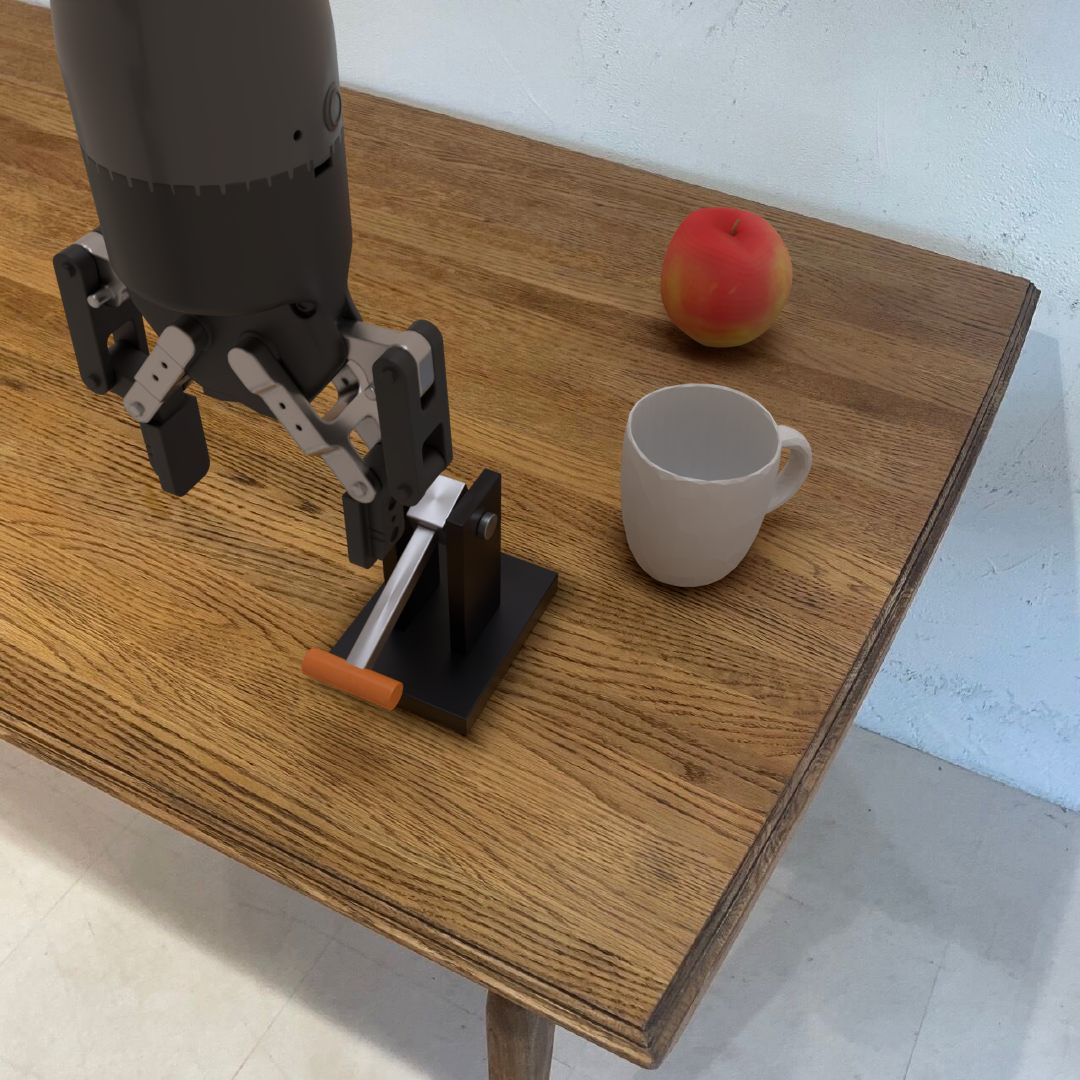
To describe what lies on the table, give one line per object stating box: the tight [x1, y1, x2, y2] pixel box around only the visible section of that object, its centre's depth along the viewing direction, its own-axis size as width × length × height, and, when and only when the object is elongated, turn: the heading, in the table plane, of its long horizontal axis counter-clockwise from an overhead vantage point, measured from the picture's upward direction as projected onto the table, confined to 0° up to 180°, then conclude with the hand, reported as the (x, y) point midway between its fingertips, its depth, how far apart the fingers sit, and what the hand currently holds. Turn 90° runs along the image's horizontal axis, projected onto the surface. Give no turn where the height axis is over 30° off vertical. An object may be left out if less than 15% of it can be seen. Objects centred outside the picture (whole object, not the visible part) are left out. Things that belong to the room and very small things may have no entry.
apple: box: [659, 206, 794, 348], centre depth 85 cm, size 10×10×10 cm
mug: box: [619, 382, 813, 588], centre depth 69 cm, size 13×9×10 cm
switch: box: [301, 473, 469, 711], centre depth 58 cm, size 12×5×2 cm, turn 155°
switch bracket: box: [328, 467, 559, 736], centre depth 63 cm, size 12×9×12 cm
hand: (278, 517), depth 44 cm, fingers open, 8 cm apart
